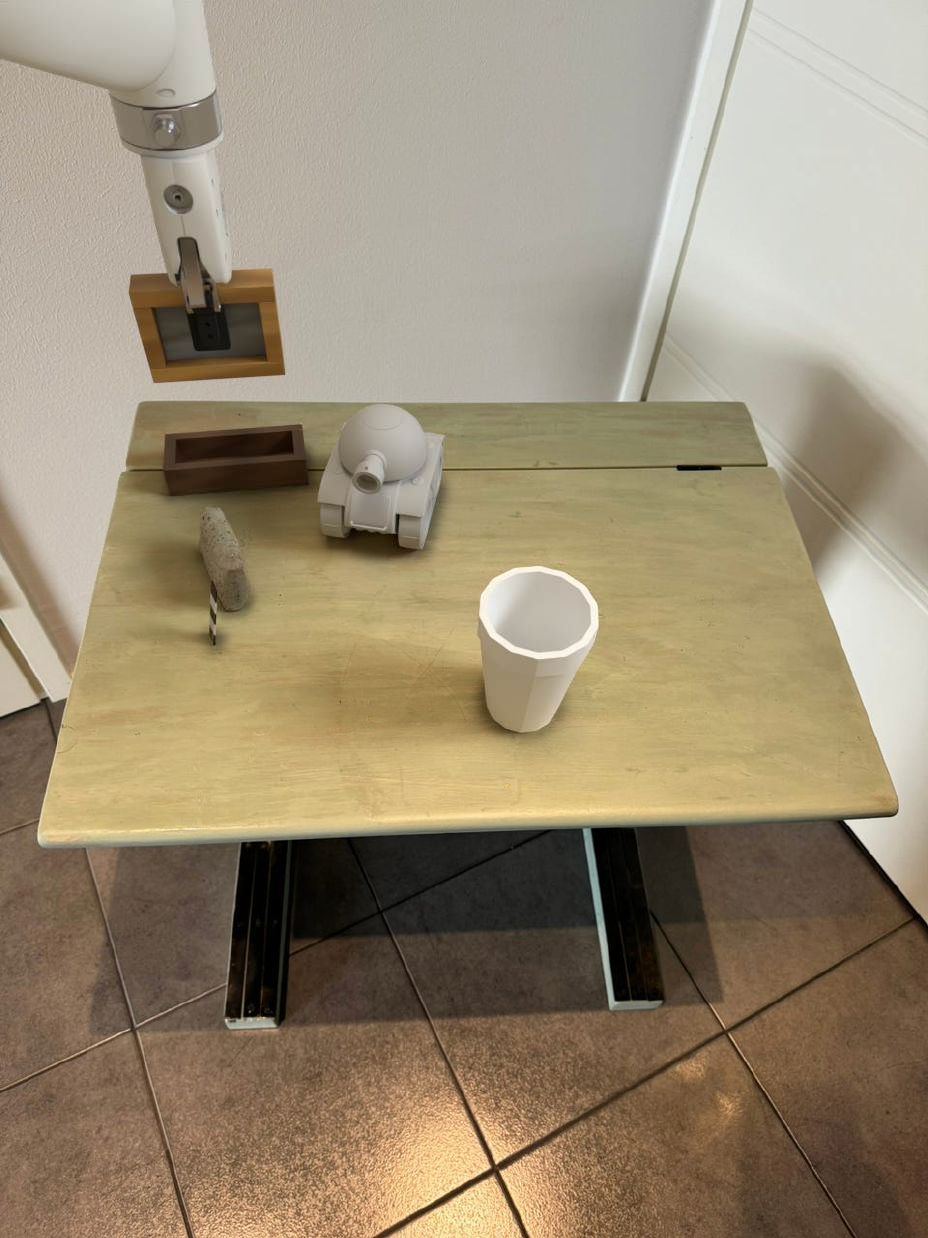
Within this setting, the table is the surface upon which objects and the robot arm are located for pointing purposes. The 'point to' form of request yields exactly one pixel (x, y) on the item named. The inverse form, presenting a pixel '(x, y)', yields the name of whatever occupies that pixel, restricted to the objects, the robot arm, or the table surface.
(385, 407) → the toy tank
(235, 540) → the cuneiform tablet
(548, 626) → the foam cup
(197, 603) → the table surface
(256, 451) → the holder
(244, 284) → the frame
